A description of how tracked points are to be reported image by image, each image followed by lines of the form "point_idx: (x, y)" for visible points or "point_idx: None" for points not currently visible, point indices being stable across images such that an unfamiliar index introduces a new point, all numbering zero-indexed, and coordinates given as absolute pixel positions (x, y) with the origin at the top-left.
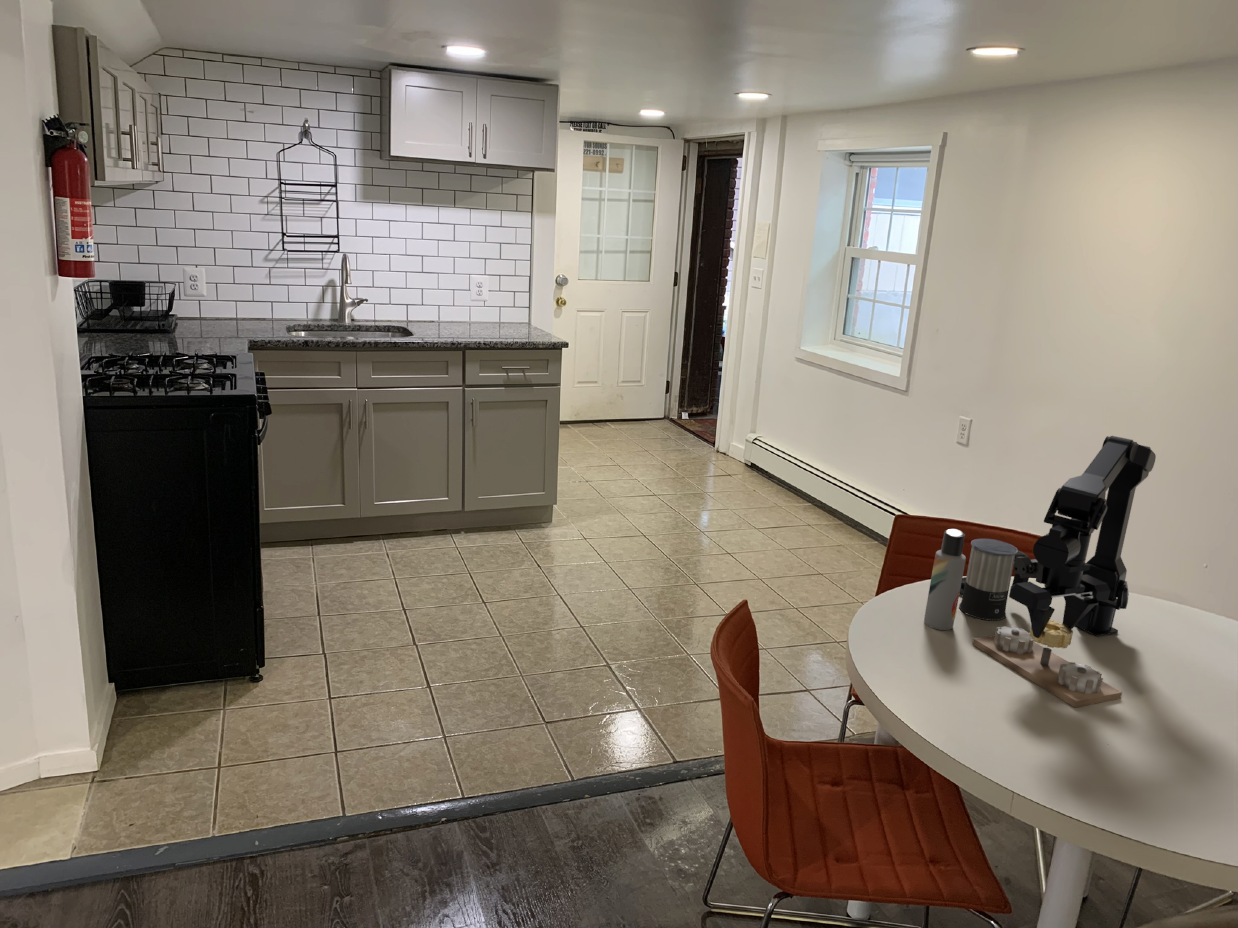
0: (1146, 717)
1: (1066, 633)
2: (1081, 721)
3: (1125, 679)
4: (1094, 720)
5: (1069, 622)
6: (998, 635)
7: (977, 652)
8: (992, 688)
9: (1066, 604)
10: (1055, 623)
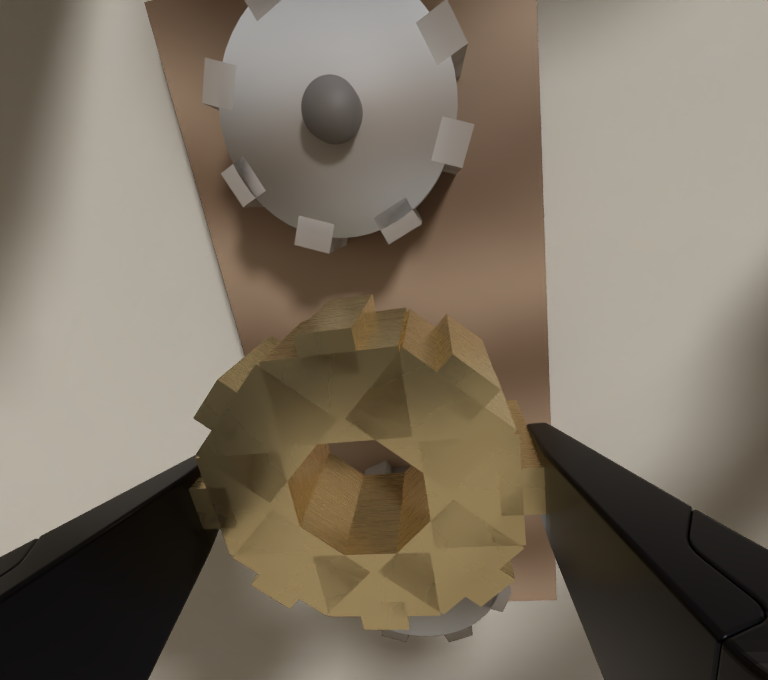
0: (527, 663)
1: (404, 605)
2: (288, 632)
3: (735, 477)
4: (334, 637)
5: (565, 548)
6: (214, 106)
7: (156, 132)
8: (92, 436)
9: (718, 659)
10: (457, 444)
